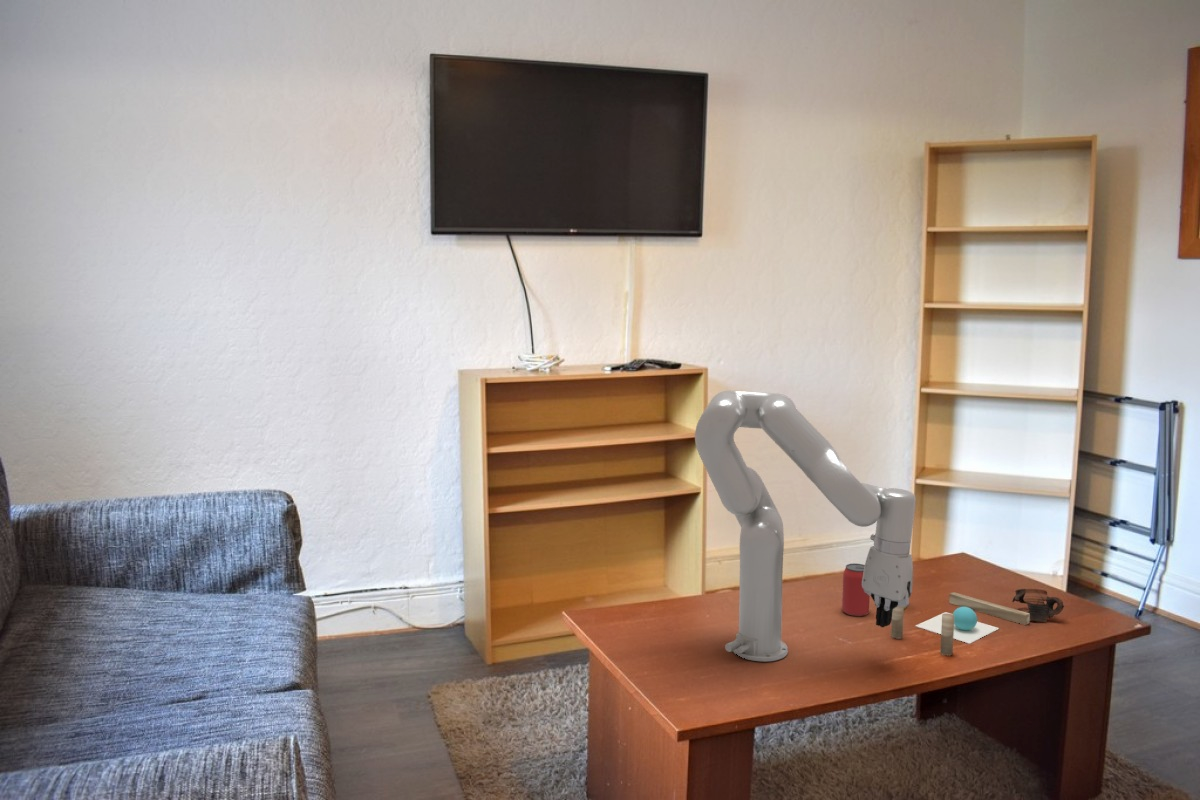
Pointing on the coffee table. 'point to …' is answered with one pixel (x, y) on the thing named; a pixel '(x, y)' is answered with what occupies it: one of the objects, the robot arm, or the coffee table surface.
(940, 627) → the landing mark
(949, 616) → the post right
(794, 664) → the coffee table surface
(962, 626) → the ball
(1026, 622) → the rail
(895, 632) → the post left
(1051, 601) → the pottery mug
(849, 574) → the beer can
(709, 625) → the coffee table surface
